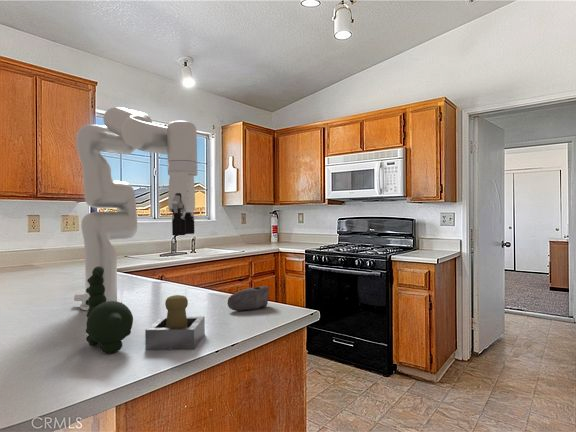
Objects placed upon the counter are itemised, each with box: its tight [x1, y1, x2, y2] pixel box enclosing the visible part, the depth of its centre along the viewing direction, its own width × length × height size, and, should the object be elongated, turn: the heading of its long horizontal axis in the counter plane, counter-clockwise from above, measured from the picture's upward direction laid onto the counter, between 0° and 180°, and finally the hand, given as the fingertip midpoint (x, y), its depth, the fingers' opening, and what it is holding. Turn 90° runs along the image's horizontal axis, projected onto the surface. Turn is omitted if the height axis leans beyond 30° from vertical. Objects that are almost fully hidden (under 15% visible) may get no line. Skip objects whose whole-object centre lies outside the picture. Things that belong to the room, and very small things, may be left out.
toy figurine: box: [85, 266, 134, 355], centre depth 90 cm, size 9×19×25 cm
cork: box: [165, 294, 189, 328], centre depth 92 cm, size 6×6×11 cm
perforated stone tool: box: [226, 285, 270, 312], centre depth 123 cm, size 15×5×7 cm, turn 118°
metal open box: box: [144, 316, 206, 351], centre depth 92 cm, size 11×11×4 cm
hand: (184, 234), depth 100 cm, fingers open, 9 cm apart
